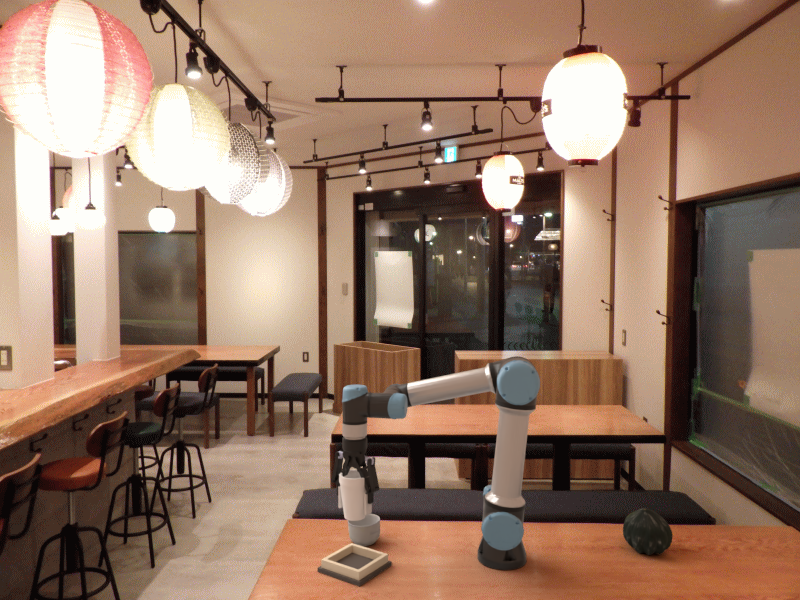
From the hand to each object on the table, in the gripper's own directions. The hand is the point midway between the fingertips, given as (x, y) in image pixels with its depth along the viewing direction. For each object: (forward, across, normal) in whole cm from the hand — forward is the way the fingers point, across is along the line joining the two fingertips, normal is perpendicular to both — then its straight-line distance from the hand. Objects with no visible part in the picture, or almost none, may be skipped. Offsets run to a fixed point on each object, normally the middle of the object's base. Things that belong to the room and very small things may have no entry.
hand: (354, 510), depth 188 cm
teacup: (+18, +10, -18) cm, 27 cm away
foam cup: (+2, 0, 0) cm, 2 cm away
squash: (+18, -70, -64) cm, 97 cm away
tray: (+18, 0, 0) cm, 18 cm away
